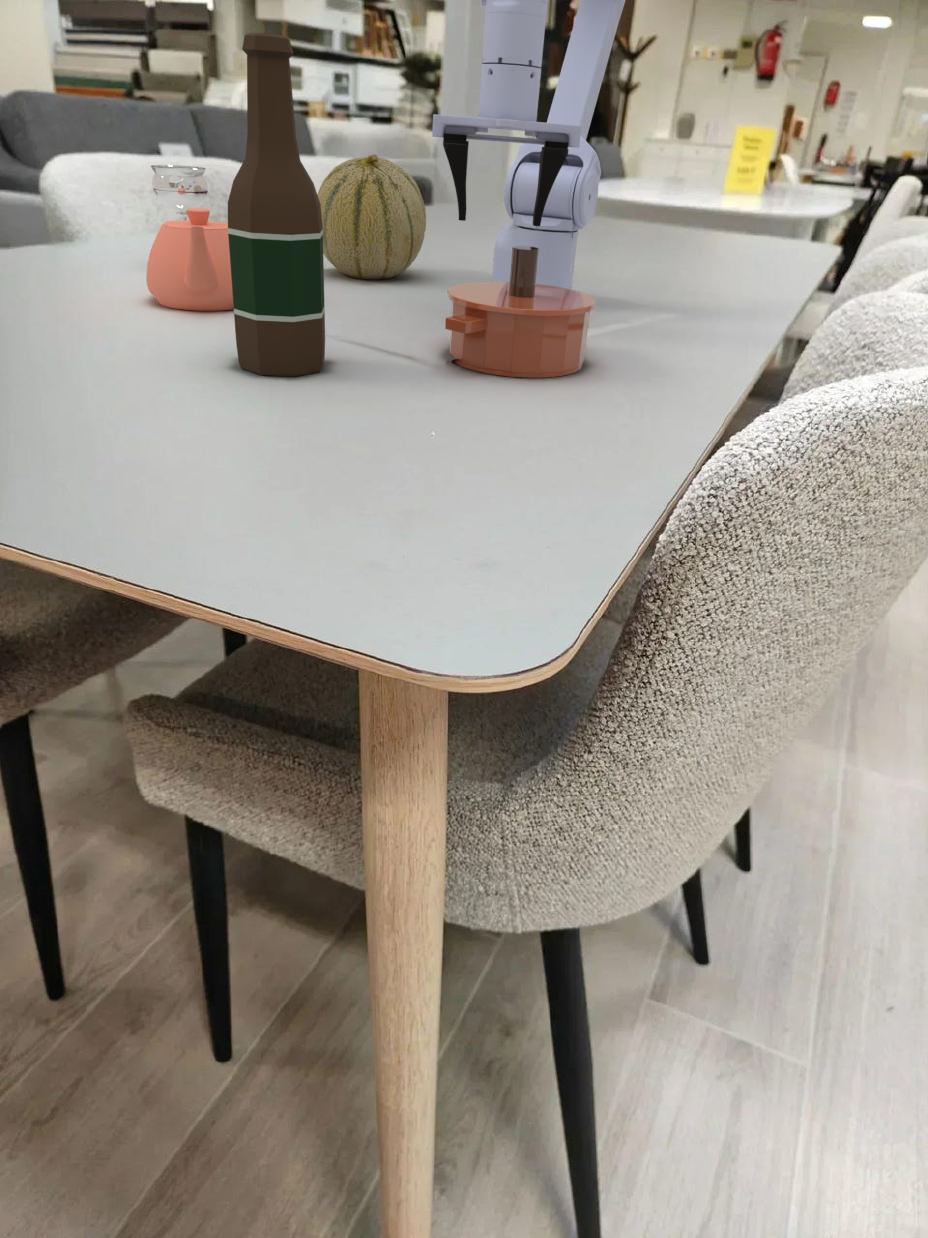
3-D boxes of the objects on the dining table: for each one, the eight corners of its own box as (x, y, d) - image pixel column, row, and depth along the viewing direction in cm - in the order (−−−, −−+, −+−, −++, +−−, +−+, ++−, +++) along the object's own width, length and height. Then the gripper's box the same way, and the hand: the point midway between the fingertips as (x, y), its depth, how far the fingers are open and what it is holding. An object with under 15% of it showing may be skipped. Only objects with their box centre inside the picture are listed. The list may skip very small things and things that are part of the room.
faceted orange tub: (401, 360, 79) (403, 298, 76) (521, 335, 91) (526, 281, 88) (508, 391, 72) (514, 324, 69) (622, 359, 84) (631, 302, 82)
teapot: (259, 289, 105) (254, 202, 100) (263, 321, 90) (257, 221, 85) (155, 286, 102) (144, 198, 97) (140, 319, 87) (127, 216, 82)
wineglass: (151, 270, 111) (139, 166, 105) (175, 263, 117) (165, 163, 111) (201, 274, 111) (192, 170, 105) (222, 267, 117) (215, 167, 110)
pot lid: (416, 302, 78) (418, 241, 76) (508, 288, 87) (513, 234, 85) (535, 330, 71) (541, 264, 68) (622, 312, 80) (631, 253, 77)
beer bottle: (343, 362, 77) (339, 41, 65) (301, 382, 71) (288, 30, 59) (266, 350, 79) (248, 37, 67) (219, 369, 73) (190, 26, 61)
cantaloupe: (394, 269, 124) (396, 150, 116) (444, 287, 113) (450, 159, 105) (297, 271, 117) (292, 146, 109) (340, 292, 106) (338, 154, 99)
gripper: (433, 57, 78) (427, 220, 85) (591, 69, 79) (572, 231, 85) (437, 63, 85) (430, 214, 91) (583, 74, 85) (566, 224, 92)
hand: (499, 222), depth 89 cm, fingers open, 7 cm apart
